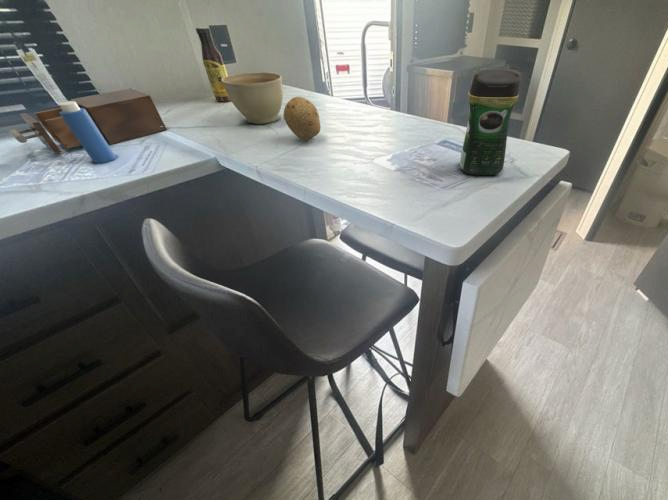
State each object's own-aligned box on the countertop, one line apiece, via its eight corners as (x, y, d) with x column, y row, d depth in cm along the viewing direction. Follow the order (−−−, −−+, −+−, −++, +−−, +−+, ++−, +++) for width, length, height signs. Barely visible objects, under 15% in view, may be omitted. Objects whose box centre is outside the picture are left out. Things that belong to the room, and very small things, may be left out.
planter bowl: (290, 126, 92) (280, 82, 85) (232, 130, 90) (216, 85, 82) (290, 110, 103) (281, 70, 96) (239, 113, 101) (225, 72, 93)
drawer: (33, 159, 74) (7, 128, 69) (21, 148, 79) (-4, 118, 74) (117, 138, 84) (99, 109, 79) (101, 129, 89) (83, 101, 84)
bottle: (97, 164, 74) (57, 107, 65) (90, 159, 76) (50, 103, 67) (119, 158, 76) (82, 102, 68) (111, 154, 78) (75, 98, 70)
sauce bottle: (212, 101, 111) (184, 27, 96) (223, 97, 115) (198, 25, 101) (229, 103, 110) (203, 28, 95) (239, 98, 114) (216, 26, 100)
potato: (292, 134, 88) (282, 92, 80) (324, 133, 88) (317, 91, 81) (287, 146, 81) (276, 102, 74) (322, 145, 82) (314, 101, 75)
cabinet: (110, 144, 83) (87, 107, 77) (93, 134, 88) (70, 99, 82) (167, 129, 91) (149, 95, 85) (148, 121, 96) (130, 88, 90)
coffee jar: (499, 162, 74) (520, 65, 60) (503, 177, 68) (528, 74, 55) (458, 161, 74) (470, 64, 61) (459, 175, 69) (472, 73, 55)
